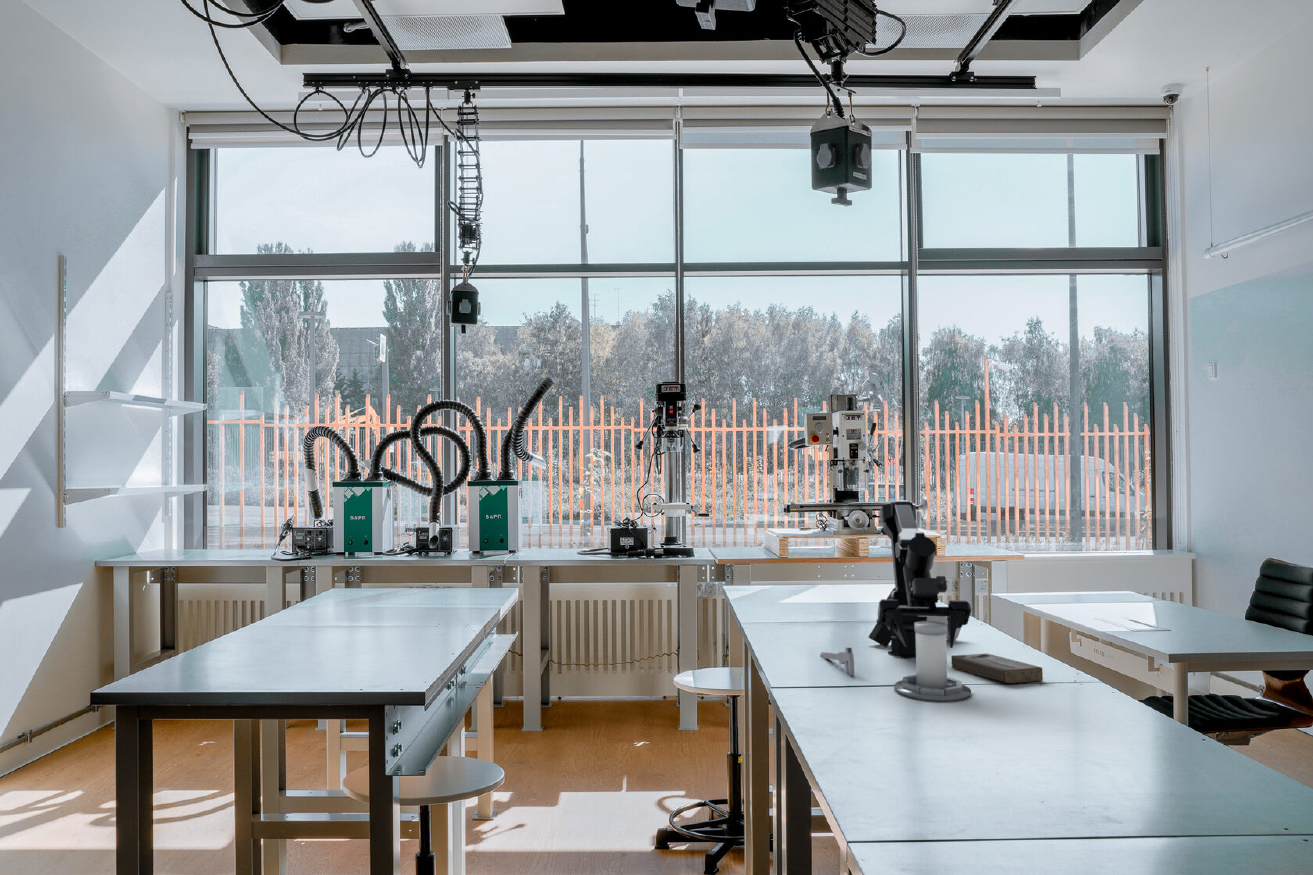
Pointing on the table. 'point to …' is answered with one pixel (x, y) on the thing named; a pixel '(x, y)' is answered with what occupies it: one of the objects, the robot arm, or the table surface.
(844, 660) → the caliper
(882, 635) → the handheld device
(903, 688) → the collar
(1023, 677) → the box
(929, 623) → the capped white cylinder
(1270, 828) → the table surface
